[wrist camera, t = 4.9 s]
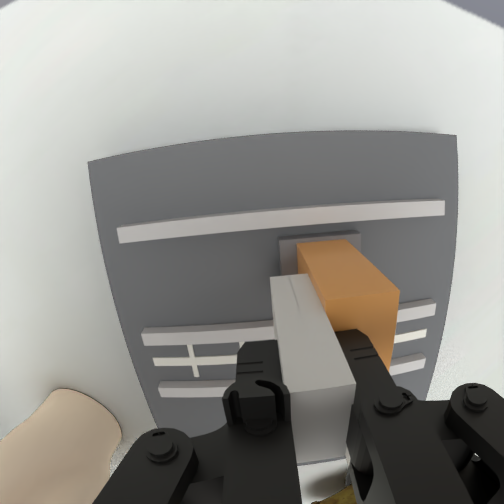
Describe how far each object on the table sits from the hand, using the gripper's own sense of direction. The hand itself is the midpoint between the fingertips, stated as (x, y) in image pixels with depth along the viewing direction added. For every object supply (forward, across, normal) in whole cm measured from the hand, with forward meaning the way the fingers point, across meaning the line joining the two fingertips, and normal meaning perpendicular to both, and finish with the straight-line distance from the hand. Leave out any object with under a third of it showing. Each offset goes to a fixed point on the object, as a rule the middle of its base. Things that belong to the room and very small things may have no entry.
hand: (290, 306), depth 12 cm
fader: (+4, +2, 0) cm, 4 cm away
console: (+6, 0, -5) cm, 8 cm away
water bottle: (+6, -18, -13) cm, 23 cm away
